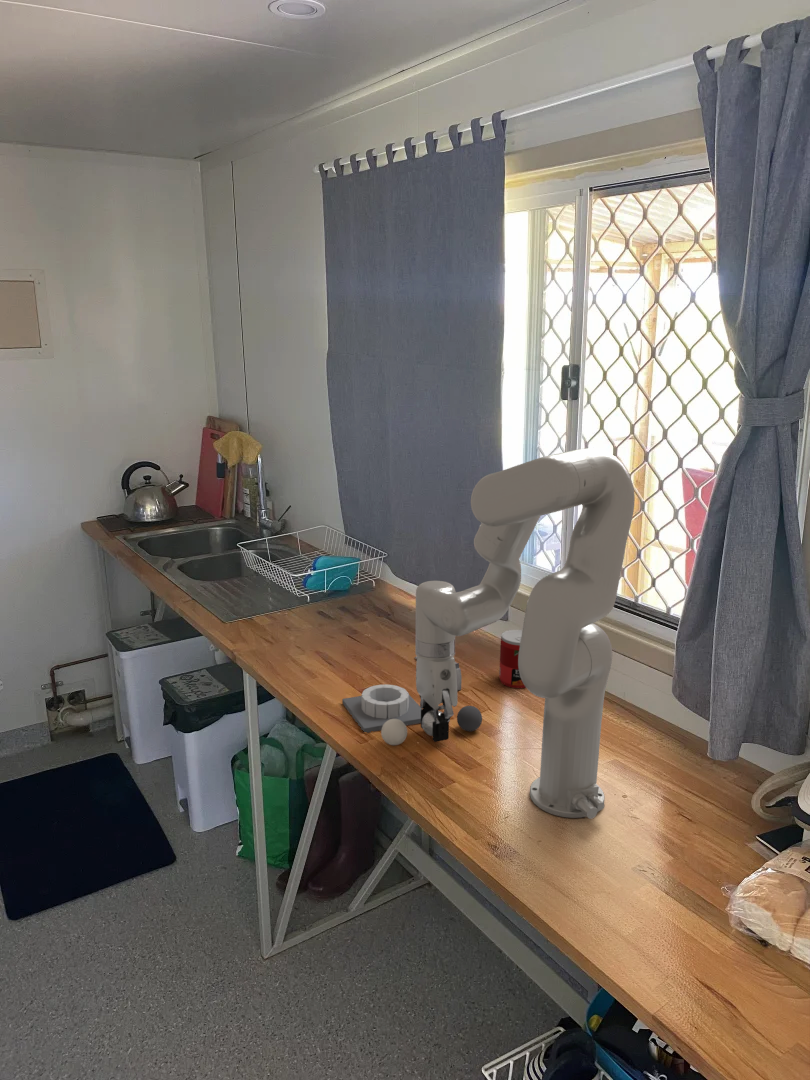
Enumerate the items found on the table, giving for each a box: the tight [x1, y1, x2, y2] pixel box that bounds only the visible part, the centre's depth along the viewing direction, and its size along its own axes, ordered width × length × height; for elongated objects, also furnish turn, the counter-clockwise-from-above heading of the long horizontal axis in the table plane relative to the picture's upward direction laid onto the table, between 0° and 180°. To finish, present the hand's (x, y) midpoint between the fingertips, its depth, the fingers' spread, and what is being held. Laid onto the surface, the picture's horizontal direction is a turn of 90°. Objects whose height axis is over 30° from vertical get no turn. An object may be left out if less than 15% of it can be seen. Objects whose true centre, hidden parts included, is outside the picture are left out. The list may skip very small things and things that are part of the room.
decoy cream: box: [380, 719, 408, 746], centre depth 163 cm, size 5×5×5 cm
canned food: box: [498, 629, 527, 689], centre depth 191 cm, size 8×8×11 cm
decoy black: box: [456, 705, 483, 732], centre depth 169 cm, size 5×5×5 cm
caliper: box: [414, 656, 463, 691], centre depth 195 cm, size 20×1×6 cm, turn 27°
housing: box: [341, 684, 421, 733], centre depth 176 cm, size 14×14×4 cm
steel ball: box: [422, 710, 443, 737], centre depth 166 cm, size 5×5×5 cm
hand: (434, 732), depth 166 cm, fingers closed on steel ball, 5 cm apart
